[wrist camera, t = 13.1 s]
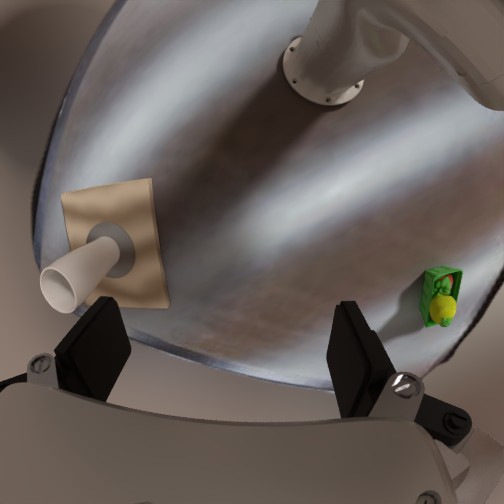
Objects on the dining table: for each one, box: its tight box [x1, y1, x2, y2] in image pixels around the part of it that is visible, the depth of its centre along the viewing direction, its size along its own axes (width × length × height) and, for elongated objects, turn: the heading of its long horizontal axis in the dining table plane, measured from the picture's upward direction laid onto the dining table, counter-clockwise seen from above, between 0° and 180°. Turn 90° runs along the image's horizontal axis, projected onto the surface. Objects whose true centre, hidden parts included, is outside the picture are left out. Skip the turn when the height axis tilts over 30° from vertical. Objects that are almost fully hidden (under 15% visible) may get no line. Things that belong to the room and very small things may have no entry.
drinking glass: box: [40, 236, 120, 314], centre depth 34 cm, size 7×7×15 cm
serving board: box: [61, 178, 170, 309], centre depth 42 cm, size 22×18×2 cm
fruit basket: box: [420, 266, 463, 327], centre depth 40 cm, size 11×9×11 cm
